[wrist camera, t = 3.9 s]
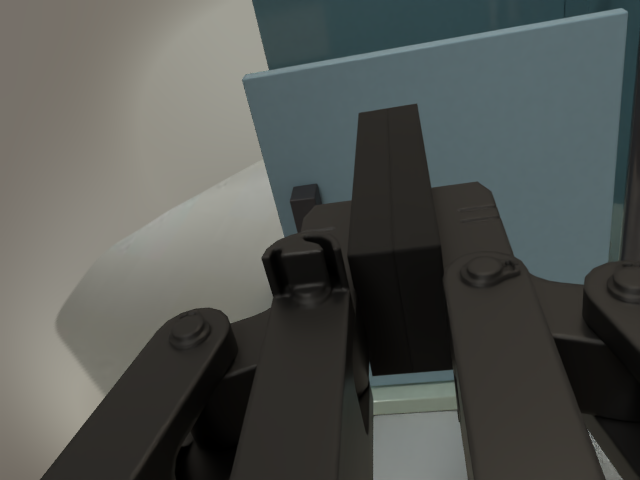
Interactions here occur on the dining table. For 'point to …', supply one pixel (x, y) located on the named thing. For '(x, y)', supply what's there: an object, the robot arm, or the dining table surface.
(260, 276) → the dining table surface
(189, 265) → the dining table surface
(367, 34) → the shower
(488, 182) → the shower door
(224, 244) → the dining table surface
